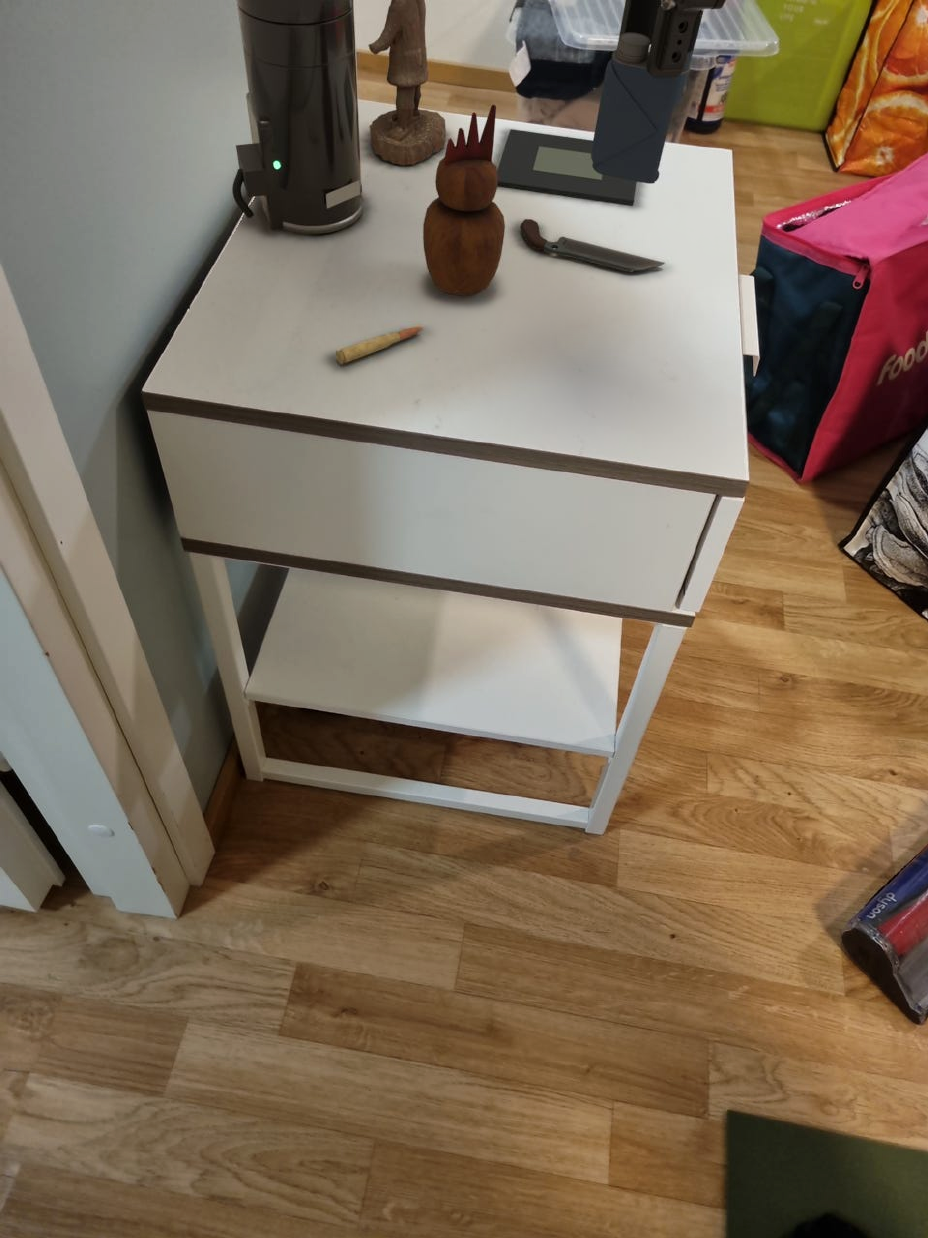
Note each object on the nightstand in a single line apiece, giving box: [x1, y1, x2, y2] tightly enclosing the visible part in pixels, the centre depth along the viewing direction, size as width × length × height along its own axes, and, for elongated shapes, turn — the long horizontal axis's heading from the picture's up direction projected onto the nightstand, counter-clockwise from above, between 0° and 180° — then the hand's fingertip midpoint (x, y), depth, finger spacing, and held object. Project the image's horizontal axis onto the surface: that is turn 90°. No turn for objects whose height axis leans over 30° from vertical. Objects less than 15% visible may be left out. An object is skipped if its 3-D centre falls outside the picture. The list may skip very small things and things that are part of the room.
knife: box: [520, 218, 665, 273], centre depth 84 cm, size 14×4×1 cm, turn 69°
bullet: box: [335, 326, 424, 365], centre depth 74 cm, size 8×1×1 cm
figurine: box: [368, 0, 447, 166], centre depth 86 cm, size 9×8×20 cm
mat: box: [496, 128, 637, 206], centre depth 93 cm, size 14×11×1 cm
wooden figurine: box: [422, 104, 506, 296], centre depth 74 cm, size 7×6×15 cm
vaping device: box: [591, 9, 705, 185], centre depth 58 cm, size 3×5×12 cm, turn 74°
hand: (649, 57), depth 57 cm, fingers closed on vaping device, 3 cm apart
